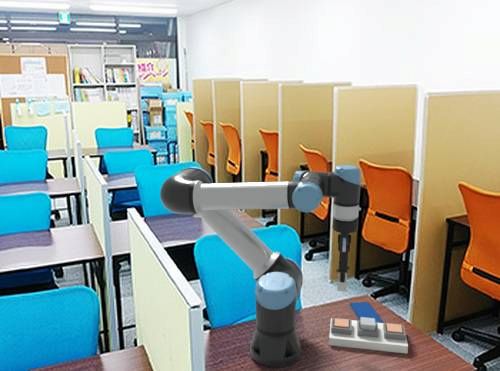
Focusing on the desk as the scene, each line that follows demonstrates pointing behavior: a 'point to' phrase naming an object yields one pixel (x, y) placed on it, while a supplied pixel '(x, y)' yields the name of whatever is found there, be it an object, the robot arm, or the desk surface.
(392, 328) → the right key
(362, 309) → the smartphone
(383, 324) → the white button panel
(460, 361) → the desk surface
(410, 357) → the desk surface
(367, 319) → the middle key
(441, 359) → the desk surface
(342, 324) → the left key
